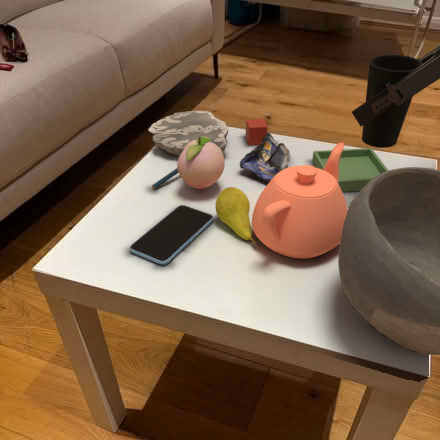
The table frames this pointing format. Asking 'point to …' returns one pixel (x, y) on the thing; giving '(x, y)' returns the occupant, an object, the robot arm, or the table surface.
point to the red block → (255, 131)
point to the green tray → (353, 167)
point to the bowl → (396, 256)
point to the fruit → (235, 211)
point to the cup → (377, 79)
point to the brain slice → (188, 130)
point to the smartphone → (171, 234)
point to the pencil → (165, 179)
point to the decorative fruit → (201, 163)
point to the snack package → (267, 158)
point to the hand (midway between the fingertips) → (365, 109)
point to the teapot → (302, 210)
